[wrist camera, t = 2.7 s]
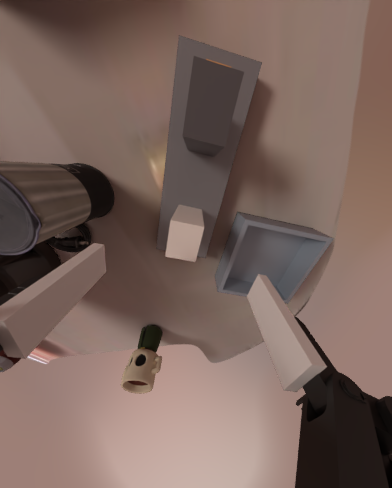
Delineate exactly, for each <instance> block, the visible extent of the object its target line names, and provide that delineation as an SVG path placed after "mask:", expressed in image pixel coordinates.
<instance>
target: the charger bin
mask: <svg viewBox="0 0 392 488" xmlns="http://www.w3.org/2000/svg"><path fill="white" fill-rule="evenodd" d="M332 241H333V238H331V237H329V236H327V235H325V234H323V233H321V232H319V231H317V230H315V229H313V228H308V227H304V226H299V225H295V224H290V223H286V222H281V221H277V220H272V219H268V218H263V217H259V216H254V215H250V214H245V213H241V212H237V214H236V217H235V220H234V223H233V226H232V229H231V232H230V235H229V237H228V240H227V243H226V246H225V249H224V252H223V255H222V258H221V260H220V263H219V266H218V269H217V272H216V275H215V279H216V285H217V291H218V292H221V293H227V294H233V295H239V296H245V297H247V295H248V293H249V291H250V289H251V287H252V285H253V283H254V281H255V279H256V278H257V276H258V274H261V275H266V276H267V277H268V279H269V280H270V282H271V283H272V285H273V286H274V288H275V289H276V291H277V292H278V294H279V295H280V297H281V298H282V300H283V301H284V303H287V304H288V303H289V301H290V300H291V298H292V297H293V296H294V294H295V293H296V291H297V290H298V289H299V287H300V286H301V284H302V283H303V282H304V280H305V279H306V277H307V276H308V275H309V273H310V272H311V270H312V269H313V267H314V266H315V265H316V263H317V262H318V260H319V259H320V258H321V256H322V255H323V253H324V252H325V251H326V249H327V248H328V246H329V245H330V243H331V242H332Z"/></svg>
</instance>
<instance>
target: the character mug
mask: <svg viewBox="0 0 392 488" xmlns="http://www.w3.org/2000/svg"><path fill="white" fill-rule="evenodd" d="M144 328H145V327H144ZM144 328H143V329H142V331H141V335H140V339H139V344H138V349H137V350H135V351H134V352H133V353H132V355H131V357H130V359H129V363H128V365H127V366H126V368H125V371H124V373H123V376H122V383H121V387H122V388H123V389H124V390H126V391H128V392H131V393H139V394H141V393H147V392H150V391H151V390H152V388H153V384H154V379H155V374H156V373H158V372H159V371H160V367H161V362H162V357H161V356H158V355H157V354H156V351H157V349H158V346H159V343H160V340H161V337H162V331H161V330H160V329H159V328H158V327H156V326H149V325H148V326H147V329H146V330H145V331H144Z"/></svg>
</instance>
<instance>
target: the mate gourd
mask: <svg viewBox="0 0 392 488" xmlns="http://www.w3.org/2000/svg"><path fill="white" fill-rule="evenodd" d="M20 359H21V358H15V357H8V356H7V355H6V353H5V352H4V350H2V351H1V352H0V372H4V371H5V370H7V369H9V368H11V367H12V366H13V365H14V364H16V363H17V362H18V361H19V360H20Z"/></svg>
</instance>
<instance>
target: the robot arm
mask: <svg viewBox="0 0 392 488" xmlns="http://www.w3.org/2000/svg"><path fill="white" fill-rule="evenodd" d="M105 273H106V260H105V247H104V245H103V244H98V243H93V244H92V245H90V246H89V247H87V248H86V249H84V250H83V251H81V252H80V253H78V254H77V255H75V256H74V257H73V258H71V259H70V260H68V261H67V262H65V263H64V264H62V265H61V263H60V260H59V258H58V256H57V255H56V253H55V252H54V251H53V249H52V248H51V247H50V246H49V245H48V244H47V243H46V242H44V241H42V242H40V243H38V244H36V245H35V246H34V247H33V248H32V249H31V250H29V251H28V252H26V253H23V254H19V255H1V254H0V352H1V351H2V350H4V352H5V353H6V355H7V356H8V357H15V358H24V359H26V358H27V356H28V355H29V354H30V353H31V352H32V351H33V350H34V349H35V348H36V347H37V346H38V345H39V344H40V343H41V341H42V340H43V339H44V338H45V337H46V336H47V335H48V334H49V333H50V332H51V331H52V330H53V329H54V328H55V326H56V325H57V324H58V323H59V322H60V321H61V320H62V319H63V318H64V317H65V316H66V315H67V314H68V312H69V311H70V310H71V309H72V308H73V307H74V306H75V305H76V304H77V303H78V302H79V301H80V300H81V299H82V297H83V296H84V295H85V294H86V293H87V292H88V291H89V290H90V289H91V288H92V287H93V286H94V285H95V283H96V282H97V281H98V280H99V279H100V278H101V277H102V276H103V275H104V274H105ZM247 298H248V301H249V303H250V306H251V309H252V311H253V314H254V316H255V319H256V321H257V324H258V326H259V329H260V332H261V334H262V337H263V339H264V342H265V344H266V347H267V349H268V352H269V354H270V357H271V359H272V362H273V365H274V367H275V370H276V372H277V375H278V377H279V380H280V382H281V385H282V388H283V390H285V391H294V392H297V391H298V390H299V389H300V388H302V387H303V389H304V391H305V393H306V394H305V395H304V396H303V397H301V398H300V399H299V400H297V402H296V405H297V406H299V405H300V404H302V403H303V406H302V408H301V409H302V418H301V429H300V439H299V450H298V461H297V472H296V484H295V488H392V397H390V396H385V397H383V398H381V399H377V398H375V397H372V396H371V395H368V394H366V393H364V392H362V390H361V389H360V388H359V387H358V386H357V385H356V384H355V382H353V381H352V380H351V379H350V378H348V377H347V376H345V375H344V374H342V373H339V372H338V371H337V370H336V369H335V368H334V366H333V365H332V363H331V362H330V360H329V359H328V357H327V356H326V355H325V353H324V352H323V351H322V349H321V348H320V346H319V345H318V343H317V342H316V341H315V339H314V338H313V336H312V335H311V334H310V332H309V331H308V329H307V328H306V326H305V325H304V324H303V323H302V322H301V321H300V320H299V319H298V318H297V317H294V316H293V315H292V313H291V312H290V310H289V309H288V307H287V306H286V304H285V303H284V301H283V300H282V298H281V297H280V295H279V294H278V292H277V291H276V289H275V288H274V286H273V285H272V283H271V282H270V280H269V279H268V277H267V276H266V275H261V274H258V276H257V278H256V279H255V281H254V283H253V285H252V287H251V289H250V291H249V293H248V295H247Z"/></svg>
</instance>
